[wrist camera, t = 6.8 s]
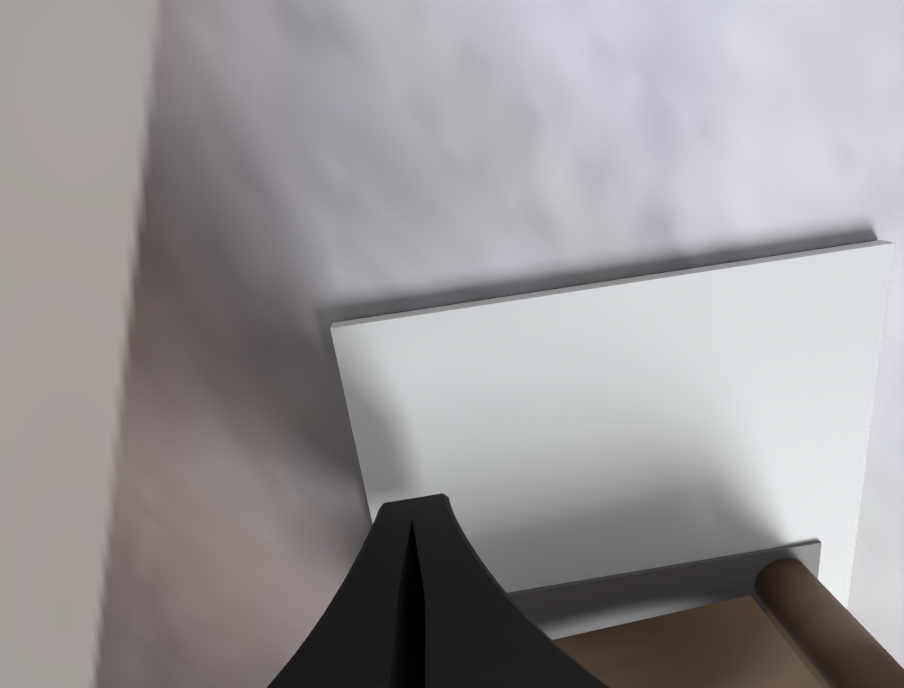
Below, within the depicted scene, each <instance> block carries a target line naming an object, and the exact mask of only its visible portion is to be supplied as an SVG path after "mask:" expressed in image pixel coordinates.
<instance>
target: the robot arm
mask: <svg viewBox="0 0 904 688" xmlns="http://www.w3.org/2000/svg"><path fill="white" fill-rule="evenodd" d="M267 688H610V687H609V686H608V685H606V684H605V683H604V682H602V681H601V680H600V679H598V678H597V677H596V676H594V675H593V674H592V673H590V672H589V671H588V670H586V669H585V668H584V667H583V666H582V665H581V664H579V663H578V662H577V661H576V660H575V659H574V658H572V657H571V656H570V655H569V654H568V653H567V652H565V651H564V650H563V649H562V648H561V647H560V646H559V645H557V644H556V643H555V642H554V641H553V640H552V639H550V638H549V637H548V636H547V635H546V634H545V633H544V632H543V631H542V630H541V629H540V628H539V627H538V626H537V625H536V624H535V623H534V622H533V621H532V620H531V619H530V618H529V617H528V616H527V615H526V614H525V613H524V612H523V611H522V610H521V609H520V607H519V606H518V605H517V604H516V603H515V602H514V601H513V600H512V599H511V597H510V596H509V595H508V594H507V593H506V592H505V590H504V589H503V588H502V587H501V585H500V584H499V583H498V582H497V580H496V579H495V578H494V576H493V575H492V574H491V573H490V571H489V570H488V569H487V567H486V566H485V564H484V563H483V562H482V560H481V559H480V557H479V556H478V554H477V553H476V551H475V550H474V548H473V547H472V545H471V544H470V542H469V541H468V539H467V537H466V535H465V534H464V532H463V530H462V528H461V526H460V525H459V523H458V521H457V519H456V517H455V515H454V512H453V510H452V507H451V504H450V501H449V497H448V496H446V495H445V494H443V493H441V494H435V495H429V496H423V497H417V498H411V499H404V500H398V501H392V502H386V503H383V505H382V506H381V507H380V508H379V510H378V513H377V516H376V518H375V520H374V523H373V525H372V527H371V530H370V532H369V534H368V536H367V538H366V540H365V542H364V544H363V546H362V548H361V550H360V552H359V554H358V556H357V558H356V560H355V562H354V563H353V565H352V567H351V569H350V571H349V573H348V575H347V576H346V578H345V580H344V582H343V583H342V585H341V586H340V588H339V590H338V591H337V593H336V595H335V596H334V598H333V599H332V601H331V603H330V604H329V606H328V608H327V609H326V611H325V612H324V614H323V615H322V617H321V618H320V620H319V621H318V623H317V624H316V626H315V627H314V628H313V630H312V631H311V633H310V634H309V636H308V637H307V638H306V640H305V641H304V642H303V644H302V645H301V646H300V648H299V649H298V650H297V652H296V653H295V654H294V656H293V657H292V658H291V659H290V661H289V662H288V663H287V664H286V665H285V667H284V668H283V669H282V670H281V671H280V673H279V674H278V675H277V676H276V677H275V679H274V680H273V681H272V682H271V684H270V685H269V686H268V687H267Z"/></svg>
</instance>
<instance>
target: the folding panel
mask: <svg viewBox="0 0 904 688" xmlns="http://www.w3.org/2000/svg"><path fill="white" fill-rule="evenodd" d="M553 641H554V642H555V643H556V644H557V645H559V646H560V647H561V648H562V649H563V650H564V651H565V652H567V653H568V654H569V655H570V656H571V657H572V658H574V659H575V660H576V661H577V662H578V663H579V664H581V665H582V666H583V667H584V668H585V669H586V670H588V671H589V672H590V673H592V674H593V675H594V676H596V677H597V678H598V679H600V680H601V681H602V682H604V683H605V684H606V685H608V686H609V687H610V688H822V687H821V686H820V684H819V683H818V682H817V681H816V679H815V678H814V677H813V675H812V674H811V673H810V671H809V670H808V669H807V668H806V666H805V665H804V664H803V662H802V661H801V660H800V659H799V657H798V656H797V655H796V653H795V652H794V651H793V649H792V648H791V647H790V646H789V644H788V643H787V642H786V640H785V639H784V638H783V637H782V635H781V634H780V633H779V631H778V630H777V629H776V627H775V626H774V625H773V624H772V622H771V621H770V620H769V618H768V617H767V616H766V615H765V613H764V612H763V611H762V609H761V608H760V607H759V605H758V604H757V603H756V602H755V600H754V599H753V598H752V596H751V595H749V596H745V597H740V598H736V599H731V600H727V601H723V602H718V603H714V604H709V605H705V606H700V607H696V608H692V609H687V610H683V611H678V612H674V613H669V614H665V615H661V616H656V617H652V618H647V619H643V620H638V621H634V622H630V623H625V624H621V625H616V626H612V627H607V628H603V629H599V630H594V631H590V632H585V633H581V634H576V635H572V636H568V637H563V638H559V639H554V640H553Z"/></svg>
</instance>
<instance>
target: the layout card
mask: <svg viewBox="0 0 904 688" xmlns="http://www.w3.org/2000/svg"><path fill="white" fill-rule="evenodd" d="M894 247H895V243H893V242H888V241H883V240H876V241H869V242H863V243H856V244H850V245H843V246H836V247H830V248H823V249H816V250H810V251H803V252H797V253H790V254H783V255H777V256H770V257H764V258H757V259H750V260H744V261H737V262H731V263H724V264H717V265H711V266H704V267H697V268H691V269H684V270H678V271H671V272H664V273H658V274H651V275H645V276H638V277H631V278H625V279H618V280H612V281H605V282H598V283H592V284H585V285H578V286H572V287H565V288H559V289H552V290H545V291H539V292H532V293H526V294H519V295H512V296H506V297H499V298H493V299H486V300H479V301H473V302H466V303H459V304H453V305H446V306H440V307H433V308H426V309H420V310H413V311H407V312H400V313H393V314H387V315H380V316H374V317H367V318H360V319H354V320H347V321H340V322H334V323H332V325H331V328H330V330H331V335H332V339H333V344H334V349H335V353H336V358H337V363H338V367H339V372H340V376H341V381H342V386H343V390H344V395H345V399H346V404H347V409H348V413H349V418H350V422H351V427H352V432H353V436H354V441H355V446H356V450H357V455H358V459H359V464H360V469H361V473H362V478H363V482H364V487H365V492H366V496H367V501H368V506H369V510H370V515H371V519H372V524H373V523H374V520H375V518H376V516H377V513H378V510H379V508H380V507H381V506H382V505H383V503H386V502H392V501H398V500H404V499H411V498H417V497H423V496H429V495H435V494H441V493H443V494H445V495H446V496H448V497H449V501H450V504H451V507H452V510H453V512H454V515H455V517H456V519H457V521H458V523H459V525H460V526H461V528H462V530H463V532H464V534H465V535H466V537H467V539H468V541H469V542H470V544H471V545H472V547H473V548H474V550H475V551H476V553H477V554H478V556H479V557H480V559H481V560H482V562H483V563H484V564H485V566H486V567H487V569H488V570H489V571H490V573H491V574H492V575H493V576H494V578H495V579H496V580H497V582H498V583H499V584H500V585H501V587H502V588H503V589H504V590H505V592H506V593H507V594H508V595H509V596H510V597H511V599H512V600H513V601H514V602H515V603H516V604H517V605H518V606H519V607H520V609H521V610H522V611H523V612H524V613H525V614H526V615H527V616H528V617H529V618H530V619H531V620H532V621H533V622H534V623H535V624H536V625H537V626H538V627H539V628H540V629H541V630H542V631H543V632H544V633H545V634H546V635H547V636H548V637H549V638H550V639H552V640H554V639H559V638H563V637H568V636H572V635H576V634H581V633H585V632H590V631H594V630H599V629H603V628H607V627H612V626H616V625H621V624H625V623H630V622H634V621H638V620H643V619H647V618H652V617H656V616H661V615H665V614H669V613H674V612H678V611H683V610H687V609H692V608H696V607H700V606H705V605H709V604H714V603H718V602H723V601H727V600H731V599H736V598H740V597H745V596H749V595H751V596H752V598H753V599H754V600H755V602H756V603H757V604H758V605H759V607H760V608H761V609H762V611H763V612H764V613H765V615H766V616H767V614H768V607H767V606H766V605H765V604H764V602H763V601H762V600H761V599H760V597H759V596H758V595H757V593H756V591H755V581H756V578H757V576H758V574H759V573H760V572H761V570H762V569H763V568H764V567H766V566H767V565H768V564H770V563H772V562H774V561H776V560H779V559H784V558H792V559H796V560H798V561H800V562H802V563H803V564H804V565H805V566H806V567H807V568H808V569H809V571H810V572H811V573H812V574H813V575H814V576H815V577H816V578H817V579H818V580H819V581H820V582H821V583H822V584H823V585H824V586H825V587H826V588H827V589H828V590H829V591H830V592H831V594H832V595H833V596H834V597H835V598H836V599H837V600H838V601H839V602H840V603H841V604H842V605H843V606H844V607H845V608H846V609H847V604H848V596H849V589H850V581H851V574H852V566H853V558H854V551H855V543H856V536H857V528H858V520H859V513H860V505H861V498H862V490H863V482H864V475H865V467H866V460H867V452H868V444H869V437H870V429H871V422H872V414H873V406H874V399H875V391H876V384H877V376H878V368H879V361H880V353H881V346H882V338H883V330H884V323H885V315H886V308H887V300H888V292H889V285H890V277H891V270H892V262H893V255H894Z"/></svg>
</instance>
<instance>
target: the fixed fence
mask: <svg viewBox="0 0 904 688" xmlns="http://www.w3.org/2000/svg"><path fill="white" fill-rule="evenodd" d="M755 591H756V593H757V595H758V596H759V597H760V599H761V600H762V601H763V602H764V604H765V605H766V606H767V607H768V614H767V617H768V618H769V620H770V621H771V622H772V624H773V625H774V626H775V627H776V629H777V630H778V631H779V633H780V634H781V635H782V637H783V638H784V639H785V640H786V642H787V643H788V644H789V646H790V647H791V648H792V649H793V651H794V652H795V653H796V655H797V656H798V657H799V659H800V660H801V661H802V662H803V664H804V665H805V666H806V668H807V669H808V670H809V671H810V673H811V674H812V675H813V677H814V678H815V679H816V681H817V682H818V683H819V684H820V686H821V687H822V688H904V669H903V668H902V667H901V666H900V665H899V664H898V663H897V662H896V660H895V659H894V658H893V657H892V656H891V655H890V654H889V653H888V652H887V651H886V650H885V649H884V648H883V647H882V646H881V645H880V644H879V643H878V642H877V641H876V640H875V639H874V637H873V636H872V635H871V634H870V633H869V632H868V631H867V630H866V629H865V628H864V627H863V626H862V625H861V624H860V623H859V622H858V621H857V620H856V619H855V618H854V617H853V616H852V614H851V613H850V612H849V611H848V610H847V609H846V608H845V607H844V606H843V605H842V604H841V603H840V602H839V601H838V600H837V599H836V598H835V597H834V596H833V595H832V594H831V592H830V591H829V590H828V589H827V588H826V587H825V586H824V585H823V584H822V583H821V582H820V581H819V580H818V579H817V578H816V577H815V576H814V575H813V574H812V573H811V572H810V571H809V569H808V568H807V567H806V566H805V565H804V564H803V563H802V562H800V561H798V560H796V559H792V558H784V559H779V560H776V561H774V562H772V563H770V564H768V565H767V566H766V567H764V568H763V569H762V570H761V572H760V573H759V574H758V576H757V578H756V581H755Z"/></svg>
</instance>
